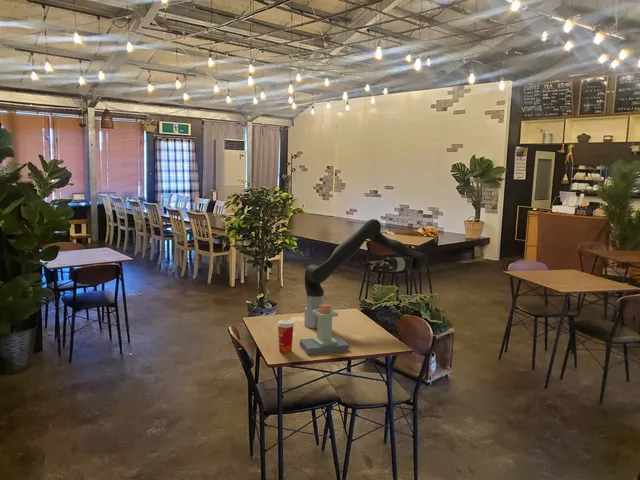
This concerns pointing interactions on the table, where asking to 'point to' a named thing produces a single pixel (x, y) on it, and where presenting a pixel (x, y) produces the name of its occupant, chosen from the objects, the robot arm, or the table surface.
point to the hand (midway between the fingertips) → (368, 266)
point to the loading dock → (314, 348)
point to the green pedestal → (324, 328)
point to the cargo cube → (324, 309)
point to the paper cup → (285, 336)
